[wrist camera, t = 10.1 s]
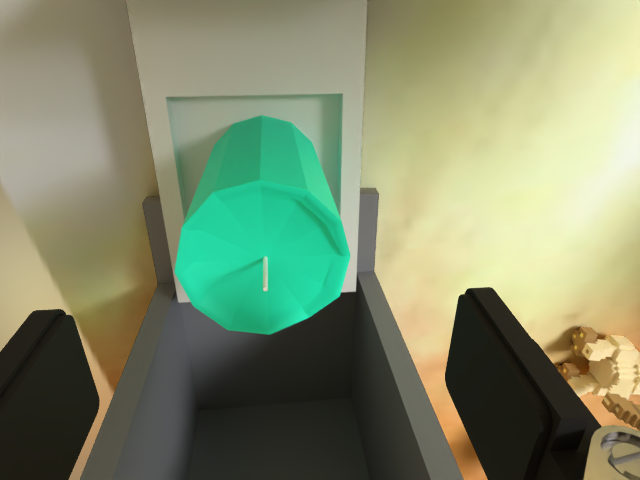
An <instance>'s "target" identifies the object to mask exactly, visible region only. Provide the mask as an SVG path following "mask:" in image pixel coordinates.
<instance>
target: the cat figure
mask: <svg viewBox="0 0 640 480" xmlns="http://www.w3.org/2000/svg"><path fill="white" fill-rule="evenodd" d="M597 336H598V334H597V333H596V332H595V331H594V330H593V329H592V328H588V327H580V329H579V330H575V331H574V333H573V335H572V337H571V340H572V341H573V344H572V346H571V349H572V350H573V352H574V353H575V354H576V355H577V356H585V357H586V358H587V359H588V360H590V362H589V364H588V365H589V366H590V369H589V371H588V373H587V375H579V373H580V370H579V369H578V368H577V366H576V365H575V364H574V363H563V365H558V368H557V370H558V371H559V372H560V373H561V375H562V376H563V377H564V379H565V380H566V381H567V383H568V384H569V385H570V386H571V388H572V389H573V390H574V392H575V393H576V394H577V395H578V396H581V397H582V395H583V394H587V393H588V392H592V394H593V395H600V396H605V397H604V399H603V401H602V404H603V405H604V406H605V408H606V409H607V410H608V411H609V412H612V413H614V414H615V416H616V417H617V418H618V419H620V420H623V421H624V422H625V423H629V424H630V425H631V426H632V427H637V429H638V430H639V431H640V405H636V404H634V403H633V402H632V401H628V399H629V396H630V394H635V395H640V352H639V351H638V350H637V349H636V348H635V346H634V345H633V344H632V343H631V342H630V341H629V340H628V339H627V338H626V337H625V336H617V335H610V336H606V337H605V339H604V340H600V339H597ZM578 375H579V376H578Z"/></svg>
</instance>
